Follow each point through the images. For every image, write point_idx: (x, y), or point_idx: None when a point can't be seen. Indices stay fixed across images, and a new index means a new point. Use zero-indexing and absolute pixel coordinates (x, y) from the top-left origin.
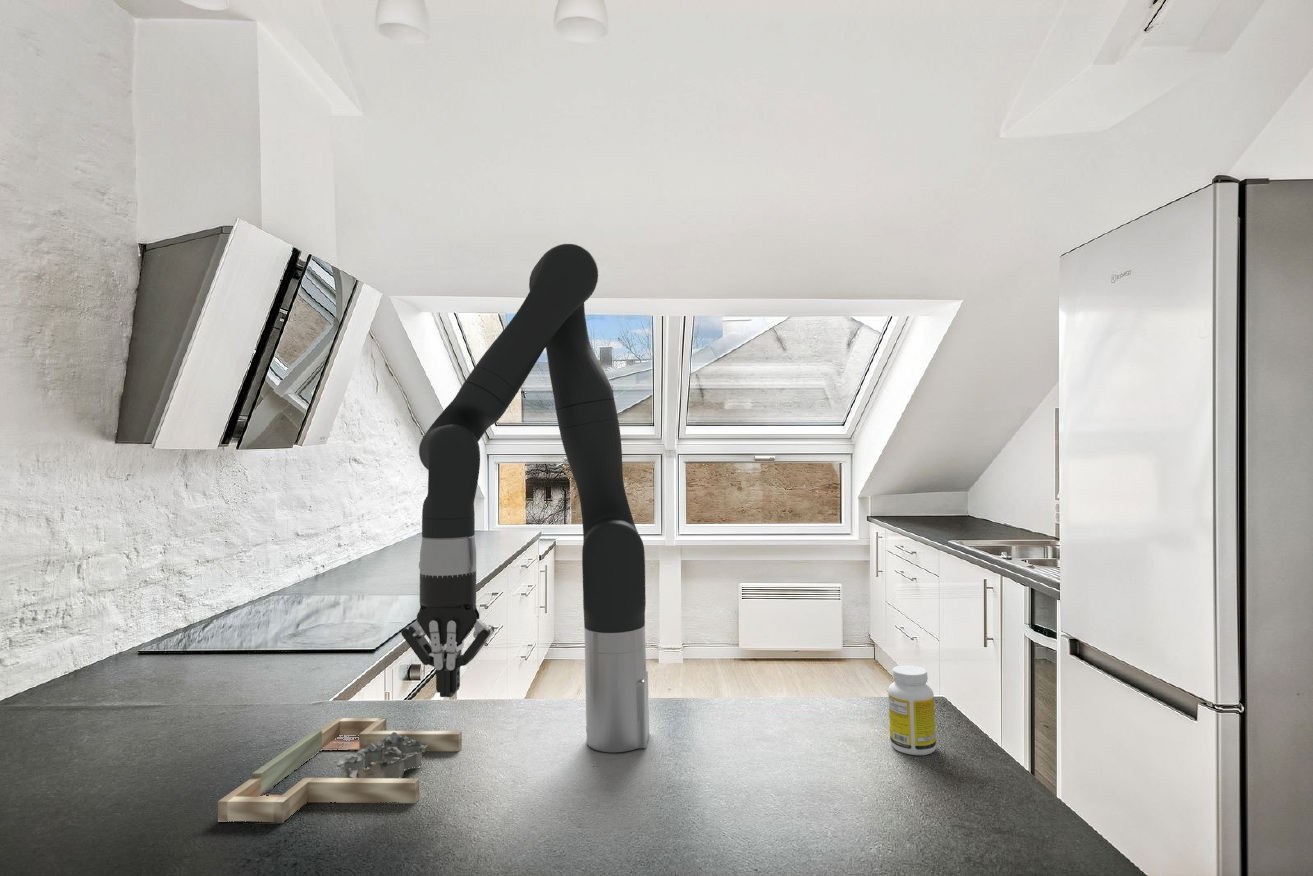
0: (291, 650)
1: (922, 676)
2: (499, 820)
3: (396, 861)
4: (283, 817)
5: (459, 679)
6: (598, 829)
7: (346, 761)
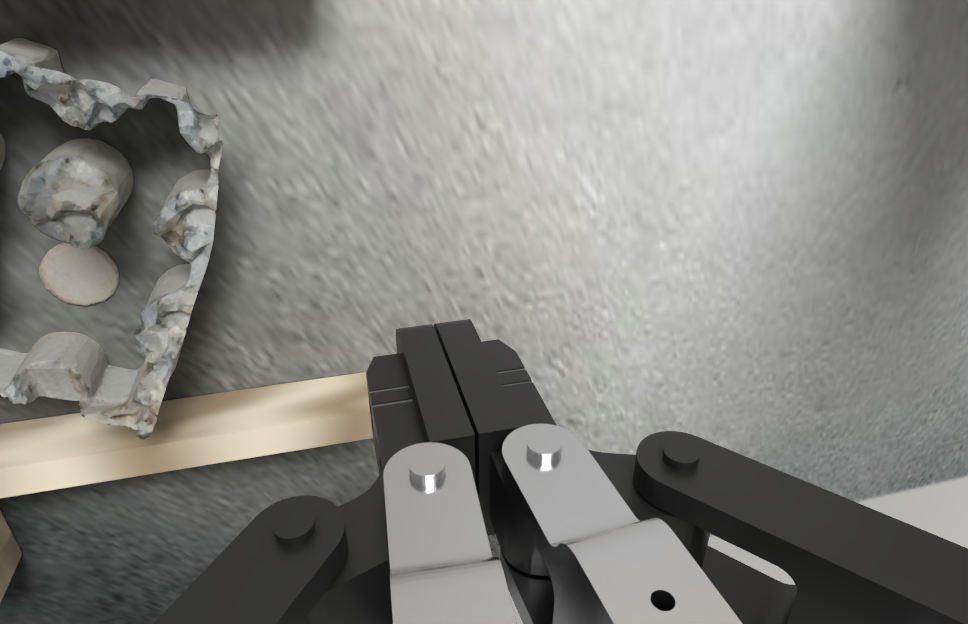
0: None
1: None
2: (638, 421)
3: None
4: (15, 566)
5: (530, 385)
6: (857, 410)
7: None
